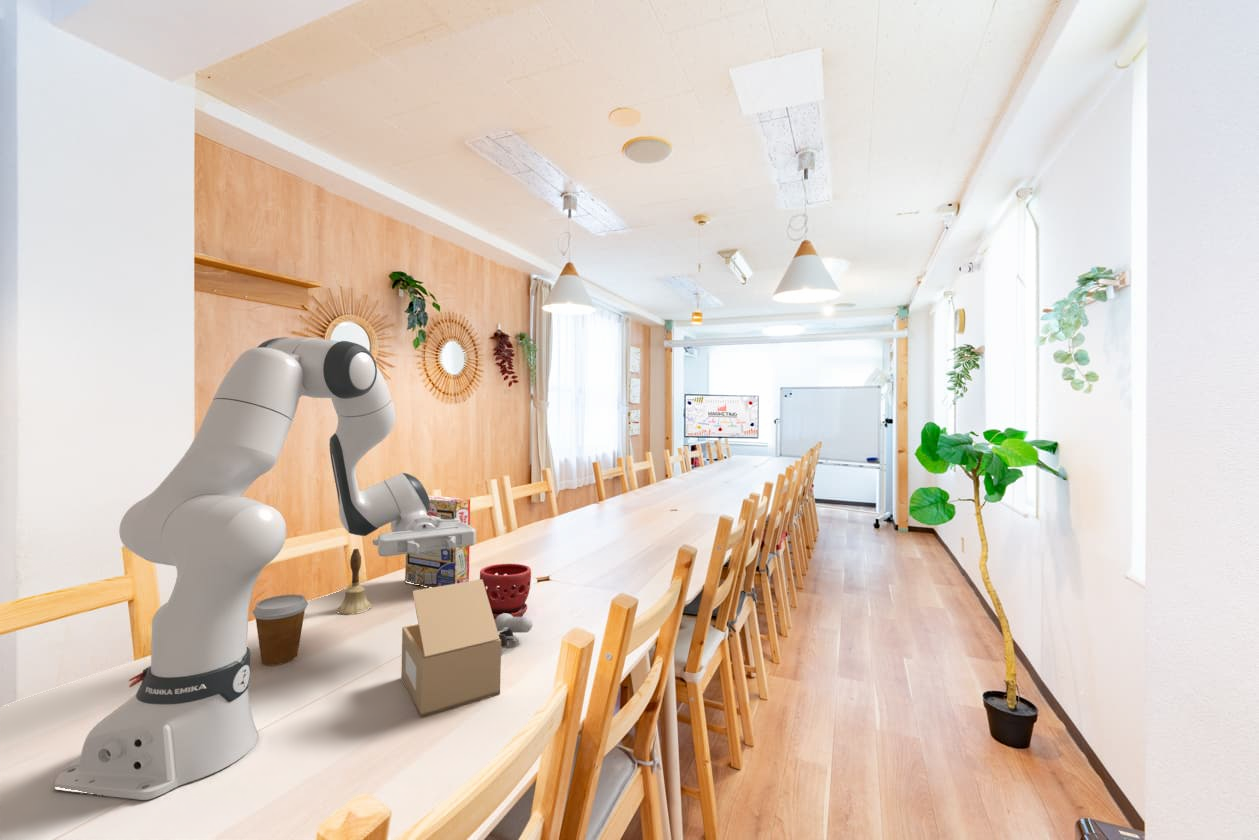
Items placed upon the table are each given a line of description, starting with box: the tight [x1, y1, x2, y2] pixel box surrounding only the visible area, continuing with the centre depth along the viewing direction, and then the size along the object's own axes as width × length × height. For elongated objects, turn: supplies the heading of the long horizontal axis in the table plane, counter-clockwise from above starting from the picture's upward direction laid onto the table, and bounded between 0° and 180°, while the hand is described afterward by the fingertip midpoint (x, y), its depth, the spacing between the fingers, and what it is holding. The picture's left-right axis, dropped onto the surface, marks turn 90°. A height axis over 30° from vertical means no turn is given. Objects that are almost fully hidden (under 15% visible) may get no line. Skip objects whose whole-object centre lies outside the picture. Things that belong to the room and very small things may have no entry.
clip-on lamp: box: [494, 613, 533, 648], centre depth 118 cm, size 12×6×18 cm
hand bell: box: [336, 548, 372, 615], centre depth 135 cm, size 8×8×16 cm
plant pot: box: [479, 563, 532, 621], centre depth 133 cm, size 13×13×12 cm
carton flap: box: [412, 579, 500, 657], centre depth 94 cm, size 13×13×1 cm
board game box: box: [404, 494, 471, 588], centre depth 154 cm, size 20×6×27 cm, turn 66°
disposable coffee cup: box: [252, 594, 309, 666], centre depth 106 cm, size 10×10×12 cm
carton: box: [400, 623, 502, 719], centre depth 97 cm, size 16×14×10 cm
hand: (436, 547), depth 106 cm, fingers open, 5 cm apart
